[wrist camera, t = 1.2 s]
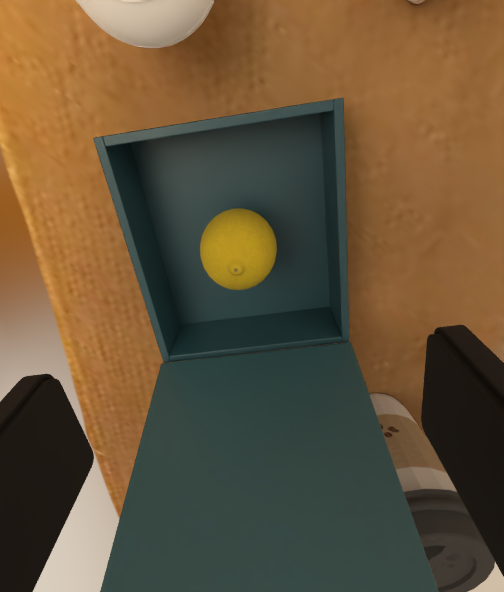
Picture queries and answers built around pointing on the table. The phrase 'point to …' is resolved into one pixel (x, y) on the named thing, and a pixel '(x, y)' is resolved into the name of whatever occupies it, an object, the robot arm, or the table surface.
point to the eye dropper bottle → (416, 1)
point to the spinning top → (148, 19)
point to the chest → (233, 195)
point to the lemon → (238, 249)
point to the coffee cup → (433, 502)
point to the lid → (265, 483)
